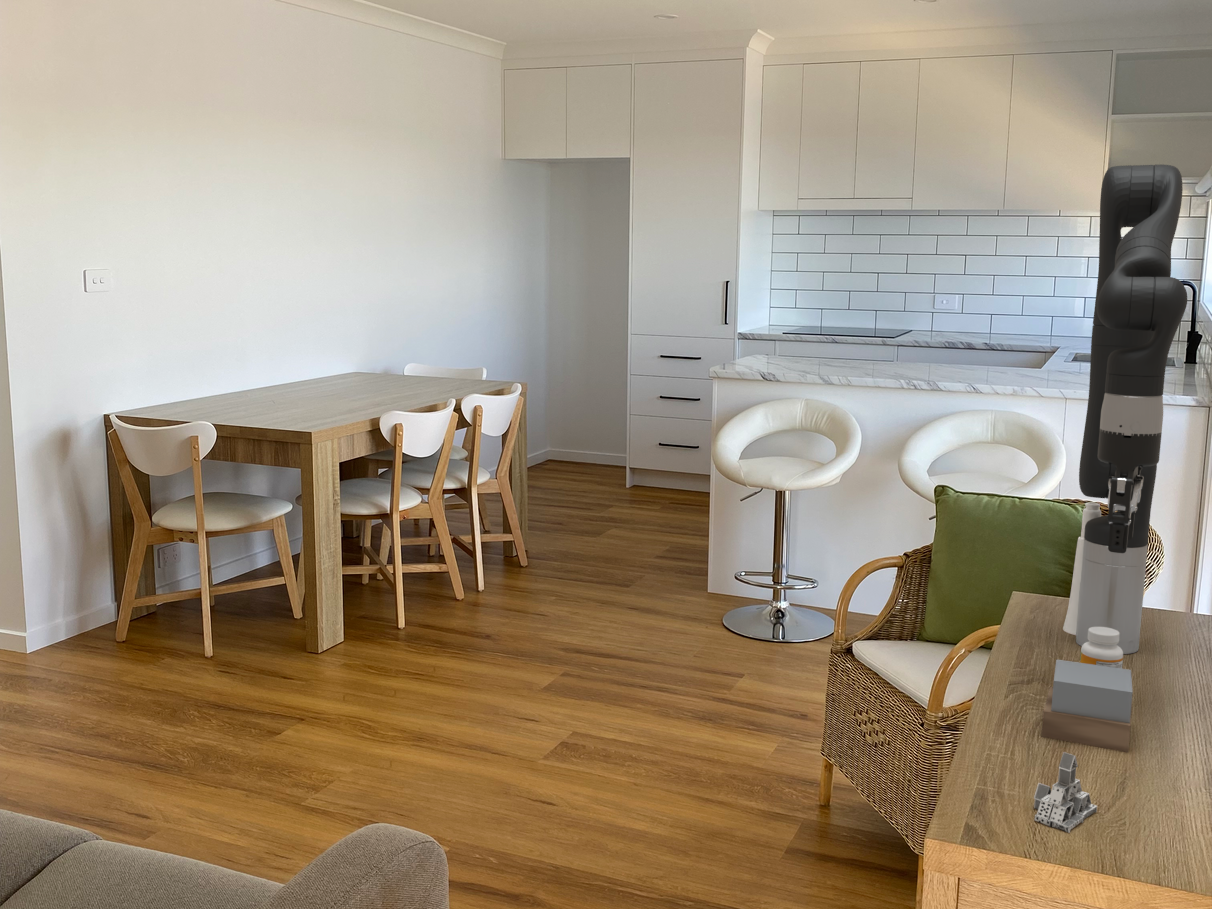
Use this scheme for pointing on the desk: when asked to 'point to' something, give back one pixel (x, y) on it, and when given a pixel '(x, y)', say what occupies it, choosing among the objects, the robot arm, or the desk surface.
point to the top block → (1092, 691)
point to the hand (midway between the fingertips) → (1120, 545)
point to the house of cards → (1063, 798)
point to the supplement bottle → (1102, 648)
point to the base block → (1085, 729)
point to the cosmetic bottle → (1079, 569)
